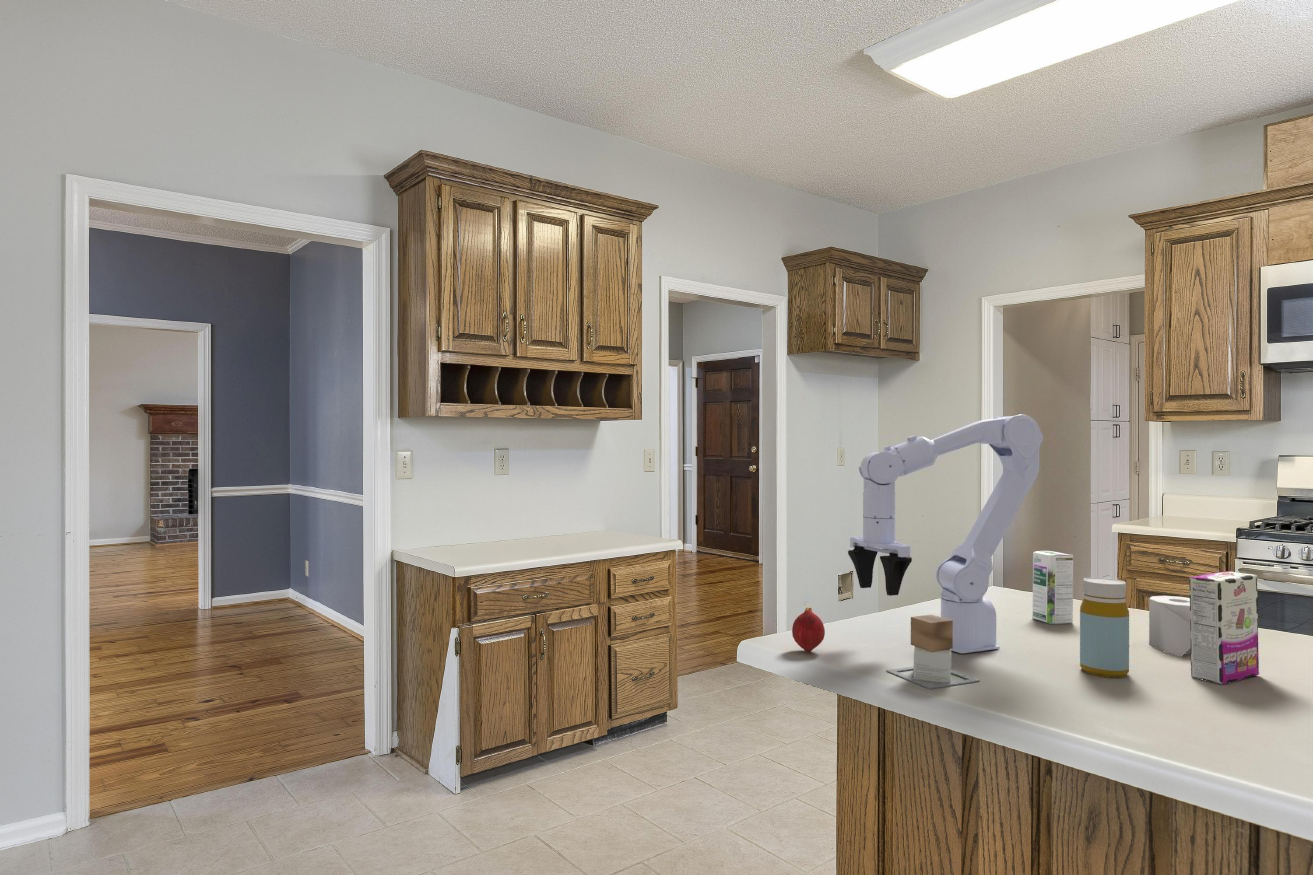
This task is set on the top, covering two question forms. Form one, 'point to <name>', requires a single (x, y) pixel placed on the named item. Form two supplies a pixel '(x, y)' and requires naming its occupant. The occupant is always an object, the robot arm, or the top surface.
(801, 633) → the onion
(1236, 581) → the candy bar box
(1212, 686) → the top surface
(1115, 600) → the bottle
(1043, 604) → the syrup box
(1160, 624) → the toilet tissue
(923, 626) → the walnut cube
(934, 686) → the gray square frame
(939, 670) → the small box
